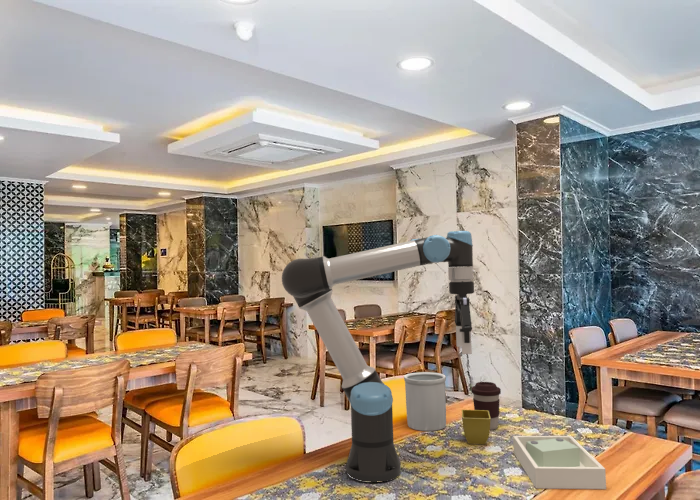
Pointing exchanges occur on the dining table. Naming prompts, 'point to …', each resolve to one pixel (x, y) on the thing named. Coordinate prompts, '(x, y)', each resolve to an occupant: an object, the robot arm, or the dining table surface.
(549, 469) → the tray
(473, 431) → the flower pot
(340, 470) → the dining table surface
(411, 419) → the utensil holder
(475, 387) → the coffee cup
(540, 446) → the dotted green block
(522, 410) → the dining table surface
